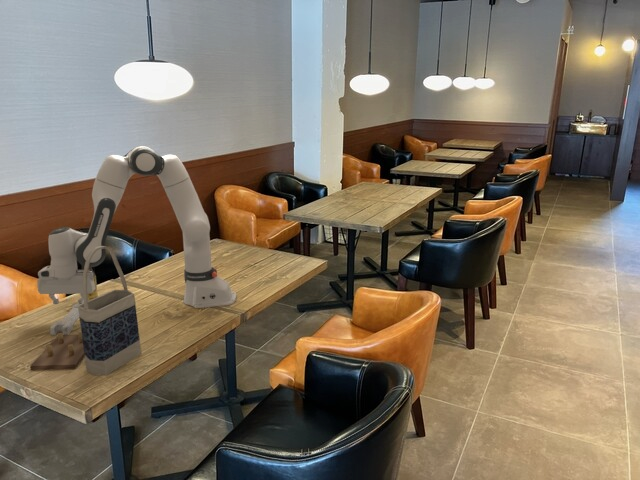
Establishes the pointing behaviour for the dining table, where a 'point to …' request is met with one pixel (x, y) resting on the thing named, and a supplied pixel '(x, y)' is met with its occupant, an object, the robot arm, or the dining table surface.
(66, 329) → the ball-tipped notched rod
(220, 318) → the dining table surface
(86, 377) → the dining table surface
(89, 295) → the sauce bottle
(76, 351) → the peg rack
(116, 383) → the dining table surface
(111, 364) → the bag
